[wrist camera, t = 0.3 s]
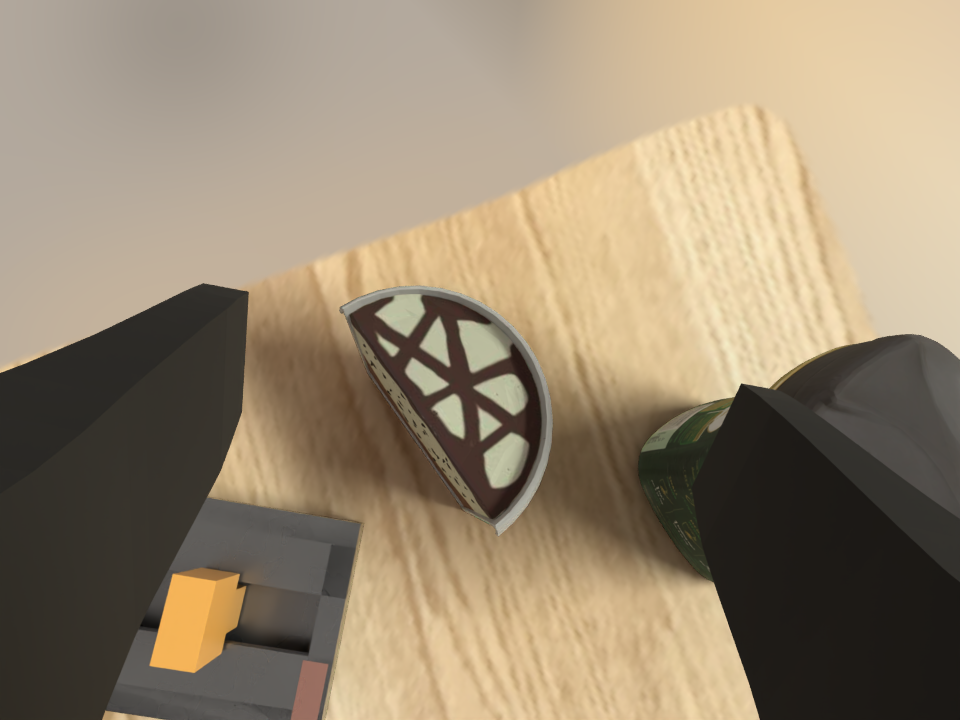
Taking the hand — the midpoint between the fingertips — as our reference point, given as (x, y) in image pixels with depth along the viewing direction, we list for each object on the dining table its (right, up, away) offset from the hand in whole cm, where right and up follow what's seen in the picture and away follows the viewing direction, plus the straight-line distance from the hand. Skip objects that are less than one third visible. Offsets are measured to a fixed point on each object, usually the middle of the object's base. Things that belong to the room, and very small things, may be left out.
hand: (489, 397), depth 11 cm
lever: (-13, -12, +27) cm, 32 cm away
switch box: (-13, -12, +27) cm, 32 cm away
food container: (-1, -2, +30) cm, 30 cm away
